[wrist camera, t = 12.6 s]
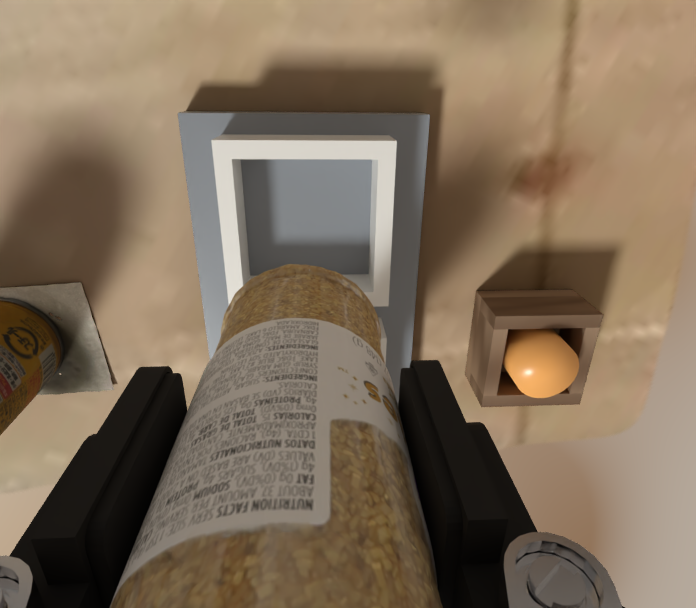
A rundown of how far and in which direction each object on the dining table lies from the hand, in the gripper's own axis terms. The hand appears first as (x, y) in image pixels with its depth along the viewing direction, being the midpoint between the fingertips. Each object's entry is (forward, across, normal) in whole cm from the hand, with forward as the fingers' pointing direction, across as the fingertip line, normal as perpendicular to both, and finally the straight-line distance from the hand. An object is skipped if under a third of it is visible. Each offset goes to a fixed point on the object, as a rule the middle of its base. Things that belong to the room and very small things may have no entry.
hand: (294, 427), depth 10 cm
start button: (+17, -13, +8) cm, 23 cm away
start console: (+18, -13, +8) cm, 24 cm away
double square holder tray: (+18, 0, +5) cm, 19 cm away
